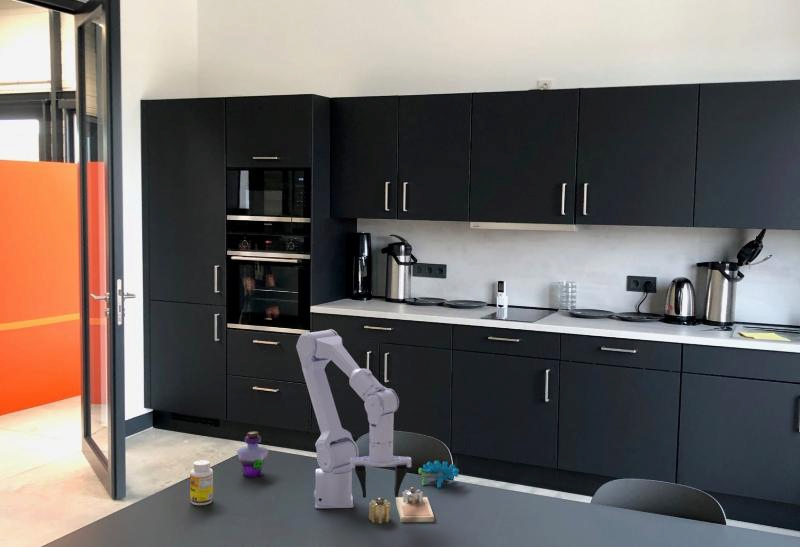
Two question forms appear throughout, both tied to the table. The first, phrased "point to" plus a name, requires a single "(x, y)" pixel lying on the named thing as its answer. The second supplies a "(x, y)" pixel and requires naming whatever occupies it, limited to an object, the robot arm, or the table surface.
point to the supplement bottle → (201, 483)
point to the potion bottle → (252, 456)
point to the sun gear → (412, 496)
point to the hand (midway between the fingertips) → (380, 495)
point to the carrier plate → (414, 511)
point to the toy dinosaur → (438, 472)
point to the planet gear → (379, 510)
